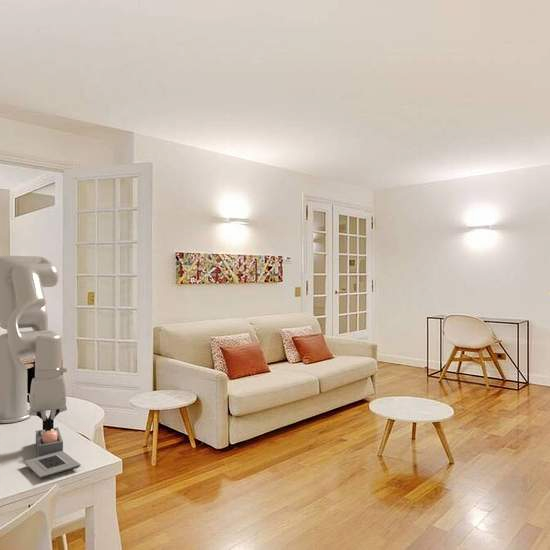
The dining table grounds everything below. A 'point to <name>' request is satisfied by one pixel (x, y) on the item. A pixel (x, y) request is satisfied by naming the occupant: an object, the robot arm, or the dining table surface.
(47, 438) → the pink button
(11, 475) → the dining table surface
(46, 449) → the button console
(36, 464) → the electrical outlet
